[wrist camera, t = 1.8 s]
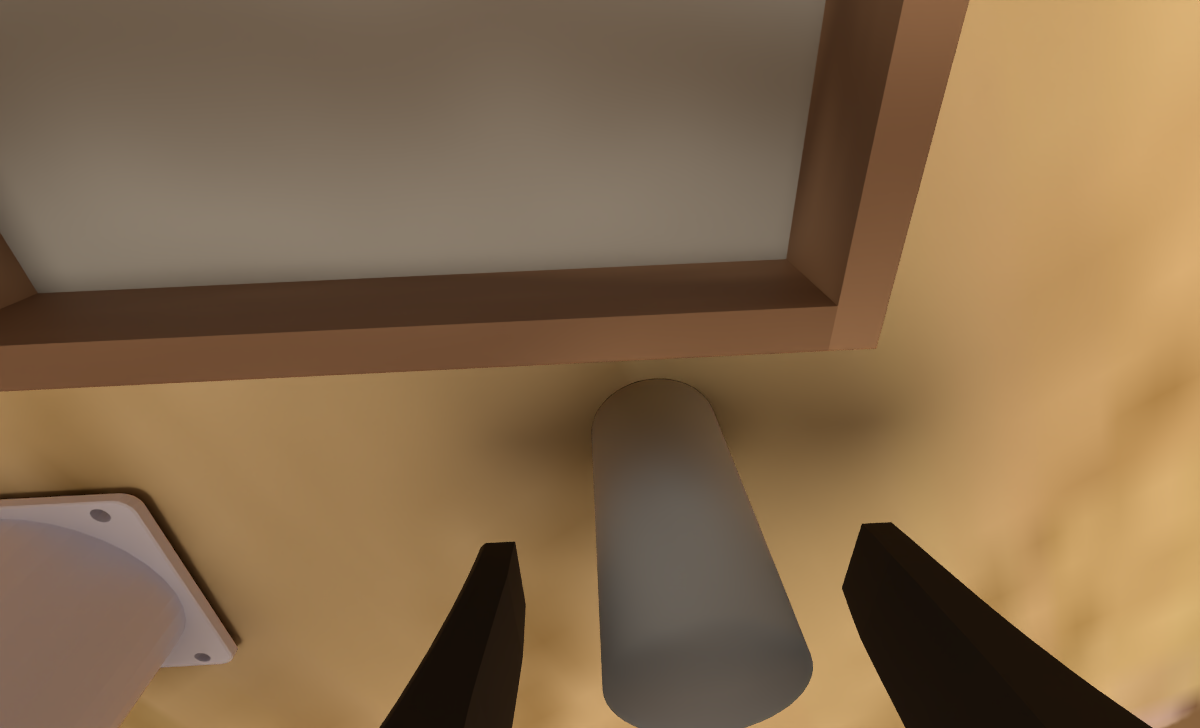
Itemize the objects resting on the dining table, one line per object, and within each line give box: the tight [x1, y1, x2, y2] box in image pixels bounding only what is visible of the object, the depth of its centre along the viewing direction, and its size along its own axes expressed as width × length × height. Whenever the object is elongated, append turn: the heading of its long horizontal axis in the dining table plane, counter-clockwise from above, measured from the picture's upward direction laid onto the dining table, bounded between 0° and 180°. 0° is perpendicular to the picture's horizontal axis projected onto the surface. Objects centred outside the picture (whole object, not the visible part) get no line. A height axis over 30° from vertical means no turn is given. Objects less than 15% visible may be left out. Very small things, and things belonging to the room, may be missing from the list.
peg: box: [592, 379, 813, 728], centre depth 12 cm, size 4×4×7 cm
